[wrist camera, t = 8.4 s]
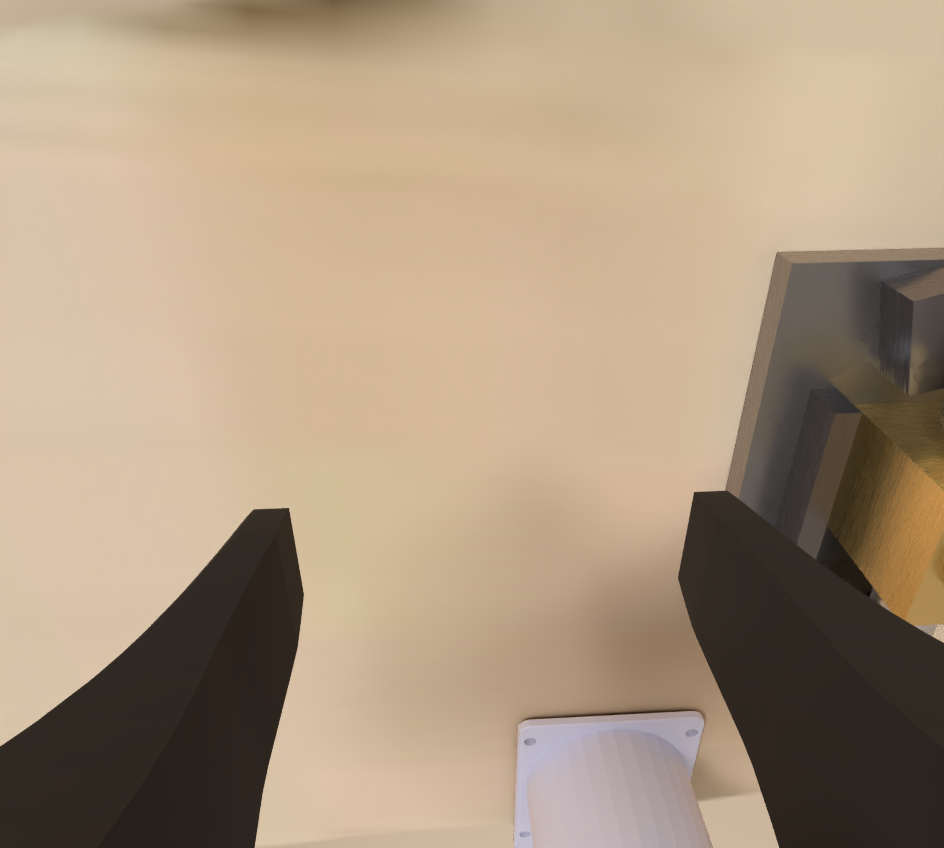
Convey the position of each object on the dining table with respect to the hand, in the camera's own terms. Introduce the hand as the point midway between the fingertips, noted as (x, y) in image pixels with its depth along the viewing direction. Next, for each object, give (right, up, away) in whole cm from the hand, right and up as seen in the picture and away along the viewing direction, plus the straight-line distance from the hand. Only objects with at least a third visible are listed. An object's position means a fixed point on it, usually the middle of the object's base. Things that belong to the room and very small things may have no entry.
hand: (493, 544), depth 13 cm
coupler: (+13, +1, +11) cm, 17 cm away
